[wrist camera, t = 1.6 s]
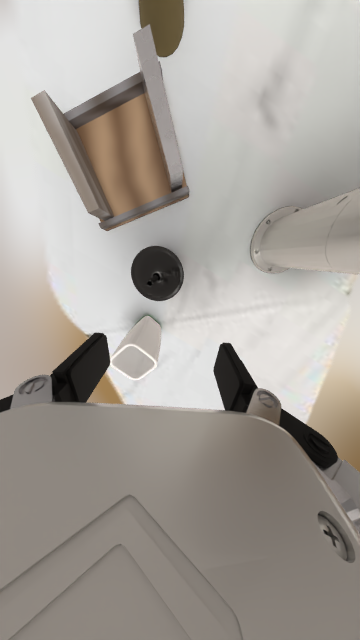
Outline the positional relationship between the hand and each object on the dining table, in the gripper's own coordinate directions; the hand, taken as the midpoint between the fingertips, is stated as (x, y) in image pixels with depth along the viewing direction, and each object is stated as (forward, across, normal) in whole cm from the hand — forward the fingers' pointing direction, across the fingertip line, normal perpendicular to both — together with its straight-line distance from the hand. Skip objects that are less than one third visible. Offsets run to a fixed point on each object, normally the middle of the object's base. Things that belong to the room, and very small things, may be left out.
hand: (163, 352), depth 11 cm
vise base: (+25, +10, -21) cm, 34 cm away
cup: (+25, +6, +12) cm, 28 cm away
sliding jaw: (+24, +3, -24) cm, 34 cm away
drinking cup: (+25, +2, -4) cm, 26 cm away
